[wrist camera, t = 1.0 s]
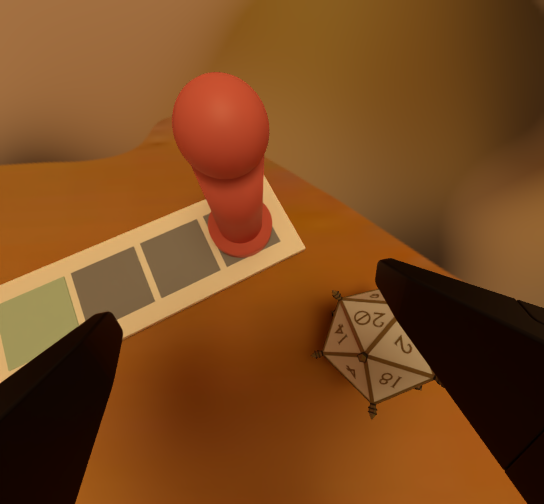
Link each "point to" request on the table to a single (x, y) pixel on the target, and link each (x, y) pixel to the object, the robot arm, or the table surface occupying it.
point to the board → (131, 280)
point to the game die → (373, 349)
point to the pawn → (227, 157)
